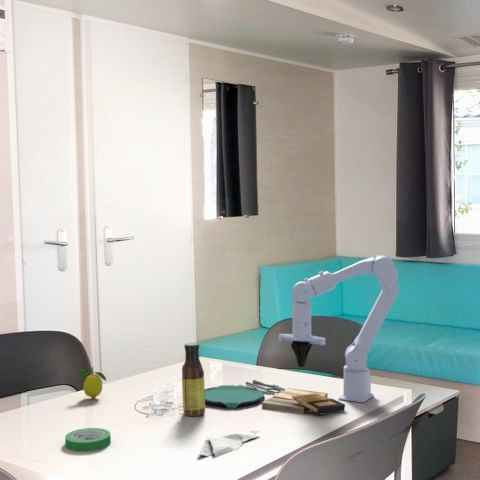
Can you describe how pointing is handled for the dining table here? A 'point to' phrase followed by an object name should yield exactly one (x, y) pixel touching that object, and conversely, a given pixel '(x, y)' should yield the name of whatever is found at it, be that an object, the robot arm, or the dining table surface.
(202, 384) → the sauce bottle
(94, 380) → the lemon
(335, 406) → the ammunition clip
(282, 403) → the floor row
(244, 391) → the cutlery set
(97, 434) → the tape roll
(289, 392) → the plank
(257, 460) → the dining table surface
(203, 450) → the cloth
